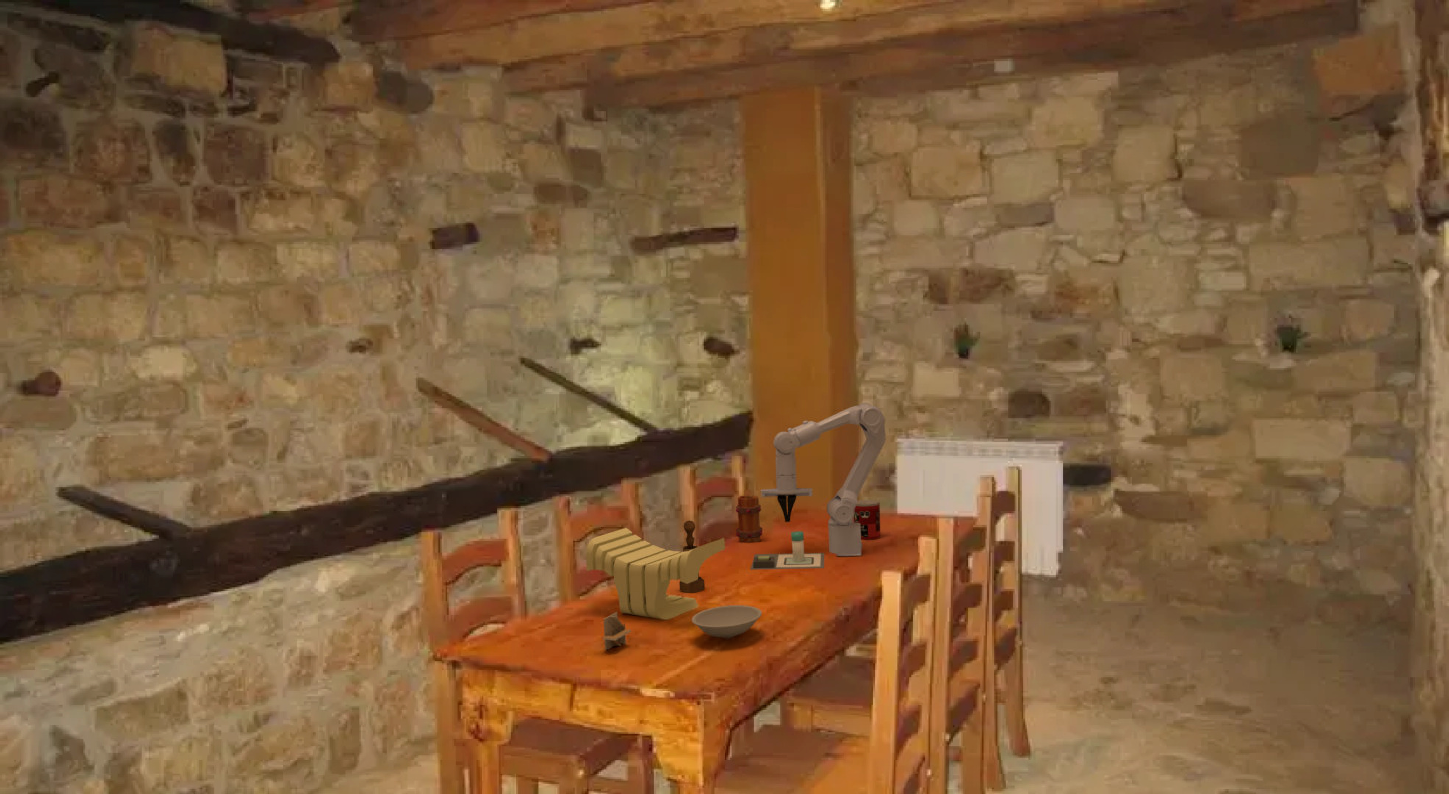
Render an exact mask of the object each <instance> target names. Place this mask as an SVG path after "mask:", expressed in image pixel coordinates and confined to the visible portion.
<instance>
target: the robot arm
mask: <svg viewBox="0 0 1449 794" xmlns="http://www.w3.org/2000/svg"><path fill="white" fill-rule="evenodd" d="M847 424H852V425H856V426H860V427H861V429H862V431H863V434H864V436H865V438H866V439H865V441H864V443H863V445H862V447H861V449H860V451H859V454H858V455H857V457H856V458H855V461H854V462H853V465H852V466H851V468H850V471H849V473H848V475H847V477H846V479H845V480H844V482H843V485H842V486H841V488H840V489H839V490H838V491H837V492H836V494H835V495H834V497H833V498H832V499H829V501H828V502H827V505H826V512H827V515H828V516H830V518H829V519H828V521H827V523H828V525H827V526H828V528H827V530H828V551H829V553H831V554H835V555H836V557H853V556H854V557H860V556H862V549H863V542H862V540H861V530H860V523H854V510H855V506H856V504H857V501H858V496H859V495H860V492H861V490H862V488H863V487H864V484H865V482H866V480H867V478H868V476H869V475H870V472H871V470H872V469H873V467H874V465H875V463H876V461H877V459H878V457H879V455H880V453H881V451H882V449H883V447H884V446H885V445H884V444H885V443H886V427H885V425H886V418H885V415H884V414H883V412H882V410H881V408H879V407H878V406H874V405H872V404H870V403H867V402H865V403H860V404H858V405H855V406H854V405H853V406H851V407H848V408H845V409H844V410H842V411H839V412H837V413H836V414H833V415H831V416H829V417H827V418H825V419H823V420H820V421H818V422H815V421H813V420H810V421H809V420H804V421H802V424H800V425H798V426H795V427H793V428H791V427H789V428H787V431H780V432H778V433H777V434H776V435H775V437H774V439H773V442H772V444H773V446H774V449H775V477H776V478H775V482H776V483H775V484H776V488H766V489H764V488H763V489H760V497H761V498H766V497H767V498H771V497H776V498H777V499H776V500H777V502H778V505H779V507H780V509H781V511H782V514H783V517H784V522H785V523H791V515H792V511H793V507H794V505H795V502H796V500H797V497H813V488H812V487H811V488H807V487H806V488H805V487H801V488H800V487H797V463H796V462H797V461H796V459H797V458H796V449H797V448H802V447H804V446H806V445H808V444H811V443H814V442H815V441H817V440H820V438H821V436H822V434H824V433H825V432H828V431H831V430H834V429H837V428H839V427H842V426H844V425H847Z"/></svg>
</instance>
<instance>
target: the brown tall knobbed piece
mask: <svg viewBox="0 0 1449 794" xmlns="http://www.w3.org/2000/svg"><path fill="white" fill-rule="evenodd" d="M695 529H696V523H695V522H694V521H693V520H686V521H685V522H684V523H683V530H684V531H685V533H686V538H685V542H686V545H685V546H683V547H682V552H685V551H690V550H692V549H694V548H697V547H698V546H697V545H695V544H694V543H695V537H694V535H693V534H694V531H695ZM678 585H679V591H680V592H682V593H691V594H692V593H698V592H700V593H701V592H702V591H704V590H705V579H703V578H702V577H701V576H700V573H699V574H698V580H696V581H693V582H691V583H688V584H686V583H684V582H681V581H680V580H679V584H678Z"/></svg>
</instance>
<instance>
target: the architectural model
mask: <svg viewBox="0 0 1449 794" xmlns="http://www.w3.org/2000/svg"><path fill="white" fill-rule="evenodd" d="M631 632H632V630H631V629H626V623H625V622H624V623H622V622H621V621H620V619H619V617H618V612H617V611H616V612H613V613H612V614H610V615H609V616H607V617H605V618H603V634H604V635H603V637H602V639H603V640H604V651H605V650H606V651H607V649H608V650H610V649H611V648H613V647H615V646H617V647H622V644H623V645H626V644H627V641H626V640H627V639H626V635H628V634H630V633H631ZM621 643H622V644H621ZM612 646H613V647H612Z"/></svg>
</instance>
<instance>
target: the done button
mask: <svg viewBox="0 0 1449 794" xmlns="http://www.w3.org/2000/svg"><path fill="white" fill-rule="evenodd" d="M758 561H770V556H759V557H758Z"/></svg>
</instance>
